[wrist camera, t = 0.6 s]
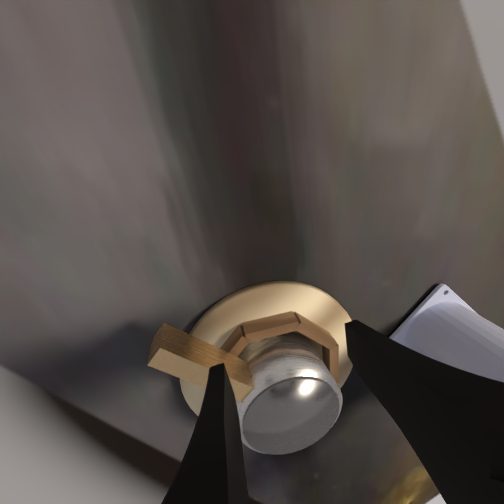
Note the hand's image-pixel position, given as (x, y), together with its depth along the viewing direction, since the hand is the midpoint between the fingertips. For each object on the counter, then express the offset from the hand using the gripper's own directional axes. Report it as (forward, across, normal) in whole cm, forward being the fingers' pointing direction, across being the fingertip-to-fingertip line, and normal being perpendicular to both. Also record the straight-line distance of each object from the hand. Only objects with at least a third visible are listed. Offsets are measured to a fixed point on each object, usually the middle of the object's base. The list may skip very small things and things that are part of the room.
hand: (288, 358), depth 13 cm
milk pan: (+8, +2, +6) cm, 11 cm away
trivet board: (+9, 0, +9) cm, 13 cm away
